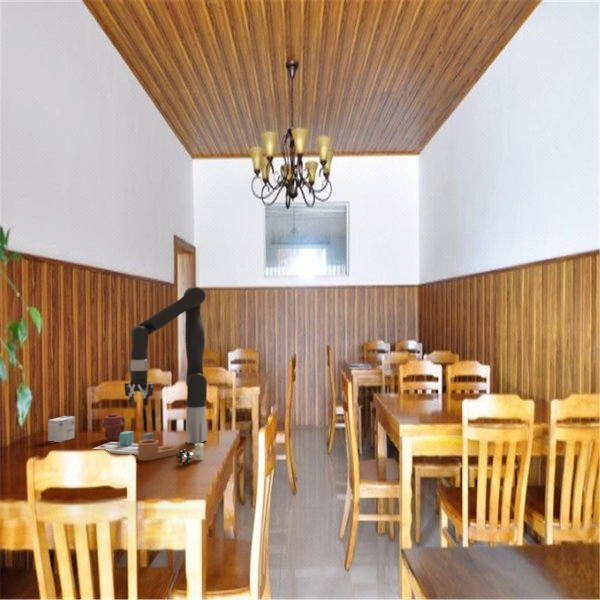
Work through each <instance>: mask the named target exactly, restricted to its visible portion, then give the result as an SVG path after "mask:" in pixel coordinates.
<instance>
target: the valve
mask: <svg viewBox="0 0 600 600" xmlns="http://www.w3.org/2000/svg"><path fill="white" fill-rule="evenodd" d="M204 446H205V445H204V443H197V444H194V449H193V450H191V451H187V449H186V448H184V449H182V450H179V453H178V454H177V455H176V456H177V459H179V460H178V464H182V466H183V465H184V466H185V467H186V466H187V465H190V463H191V461H190V460H192V458H194V459H195V460H194V461H196V460H201V461H203V460H204V454H205V450H204V448H205V447H204ZM202 459H203V460H202ZM184 466H183V467H184Z"/></svg>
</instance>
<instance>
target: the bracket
mask: <svg viewBox="0 0 600 600" xmlns="http://www.w3.org/2000/svg"><path fill="white" fill-rule="evenodd" d="M159 443H160V442H159V440H158V439H154V440H142V439H141V440H140V441H138V443H137V444H138V455H137V459H138V460H139V461H152V460H159V459H163V458H167V456H168V457H172V456H171V455H173V456H177V455H179V451H180V449H179V448H180V447H179V446H178V445H173V444H168V445H167V444H166V445H163V446H159ZM176 454H177V455H176ZM158 458H159V459H158Z"/></svg>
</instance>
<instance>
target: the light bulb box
mask: <svg viewBox="0 0 600 600" xmlns="http://www.w3.org/2000/svg"><path fill="white" fill-rule="evenodd" d="M75 417H76V416H71V415H70V416H69V415H68V416H67V415H63V416H60V417H56V418H52V419H48V422H47V426H48V427H47V428H48V429H47V432H48V433H47V434H48V435H47V437H48V438H47V442H48V441H54V442H59V443H61V442H65V440H66V441H69V440H72V439H75V425H76V424H75V423H76V422H75V421H76V418H75ZM54 442H53V443H54Z"/></svg>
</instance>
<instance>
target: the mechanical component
mask: <svg viewBox="0 0 600 600" xmlns="http://www.w3.org/2000/svg"><path fill="white" fill-rule="evenodd" d="M124 423H125V422H124V421H123V415H120V414H118V413H110V414H109V413H108V415H106V416H104V417H103V422H102V423H101V428H103V429H104V438H105V440H106V442H112V441H120V433H121V427H123V426H124V425H125V424H124Z"/></svg>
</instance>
